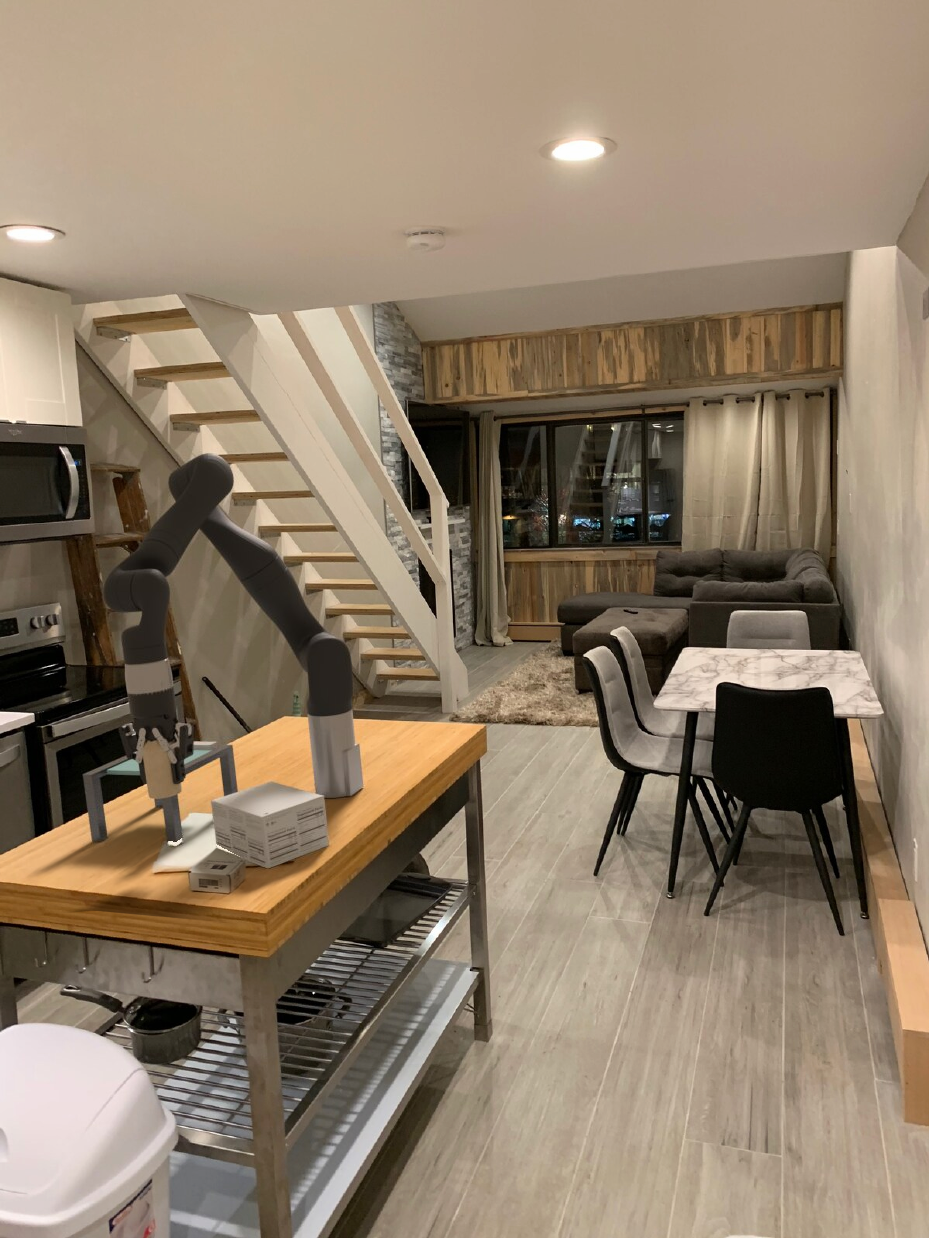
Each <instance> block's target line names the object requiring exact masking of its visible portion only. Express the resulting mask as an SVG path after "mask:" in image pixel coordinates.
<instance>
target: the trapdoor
mask: <svg viewBox="0 0 929 1238" xmlns="http://www.w3.org/2000/svg"><path fill="white" fill-rule="evenodd" d="M218 747H219V746H218V741H197V740H196V741H195V740H194V752H193V755H192V756H190V757H188V758H186V759H185V760H184V764H186V763H188V762H190V761H192V760H194V759H196V758H198V757H200V756H202V755H204V754H206V753H208V752H210V751H212V750H214V749H216V748H218ZM107 775H119V776H120V775H123V776H140V771H139V764H138V763H137V762H136V760H133V759H131V760H128V761H126V762H124V763H122V764H119V765H117V766H115V767H113V768H110V769H108V770H107Z"/></svg>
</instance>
